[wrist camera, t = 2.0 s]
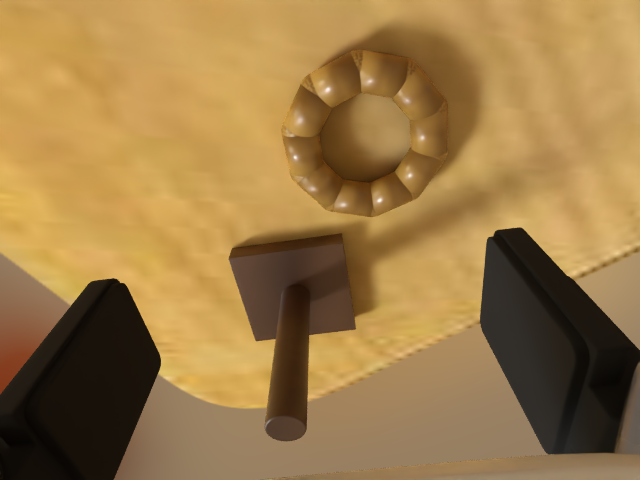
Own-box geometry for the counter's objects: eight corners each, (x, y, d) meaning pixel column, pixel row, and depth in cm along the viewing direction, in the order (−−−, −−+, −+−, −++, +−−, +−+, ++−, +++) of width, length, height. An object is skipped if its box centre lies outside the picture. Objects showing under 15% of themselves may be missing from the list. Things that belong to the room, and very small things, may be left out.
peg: (341, 233, 32) (355, 366, 20) (354, 317, 36) (371, 466, 25) (231, 248, 33) (184, 385, 21) (257, 329, 37) (230, 479, 26)
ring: (442, 32, 25) (453, 35, 23) (442, 197, 30) (451, 212, 28) (269, 62, 25) (265, 68, 23) (301, 217, 31) (300, 232, 29)
